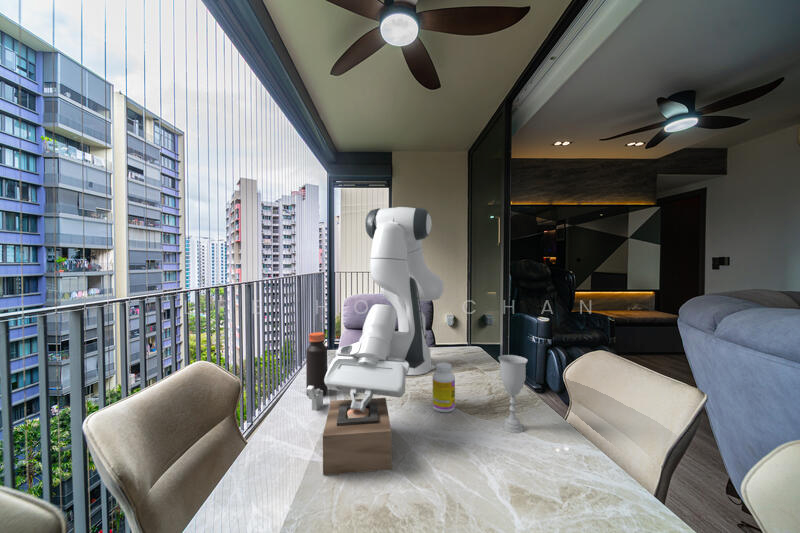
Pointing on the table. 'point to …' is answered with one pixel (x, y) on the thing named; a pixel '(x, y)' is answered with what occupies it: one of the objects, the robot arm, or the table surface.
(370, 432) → the block
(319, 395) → the lighter
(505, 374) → the chalice
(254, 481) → the table surface
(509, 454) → the table surface
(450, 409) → the supplement bottle
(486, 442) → the table surface
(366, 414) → the peg
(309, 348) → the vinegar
